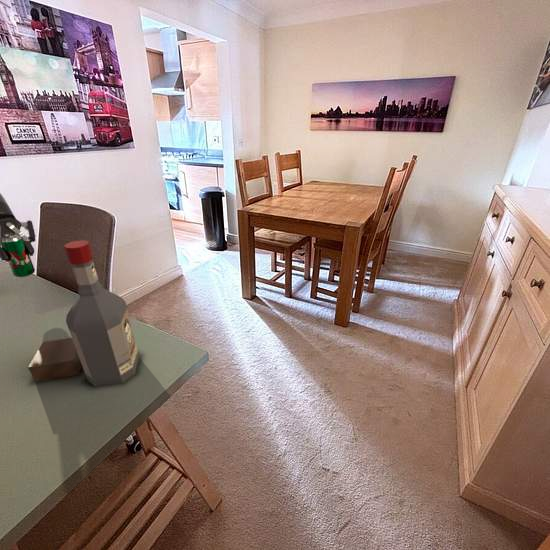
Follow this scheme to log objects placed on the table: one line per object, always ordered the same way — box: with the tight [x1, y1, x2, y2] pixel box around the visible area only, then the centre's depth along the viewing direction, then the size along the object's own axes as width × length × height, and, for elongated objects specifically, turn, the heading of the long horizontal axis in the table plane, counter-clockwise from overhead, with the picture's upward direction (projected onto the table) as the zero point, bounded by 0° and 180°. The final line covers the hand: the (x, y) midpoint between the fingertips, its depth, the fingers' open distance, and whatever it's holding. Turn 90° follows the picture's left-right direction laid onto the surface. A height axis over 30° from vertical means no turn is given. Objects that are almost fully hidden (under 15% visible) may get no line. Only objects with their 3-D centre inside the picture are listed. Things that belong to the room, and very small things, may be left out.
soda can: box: [0, 233, 36, 278], centre depth 86 cm, size 5×5×12 cm
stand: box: [27, 337, 83, 383], centre depth 66 cm, size 8×8×5 cm
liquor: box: [64, 239, 140, 387], centre depth 59 cm, size 9×9×30 cm
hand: (19, 257), depth 85 cm, fingers closed on soda can, 5 cm apart
